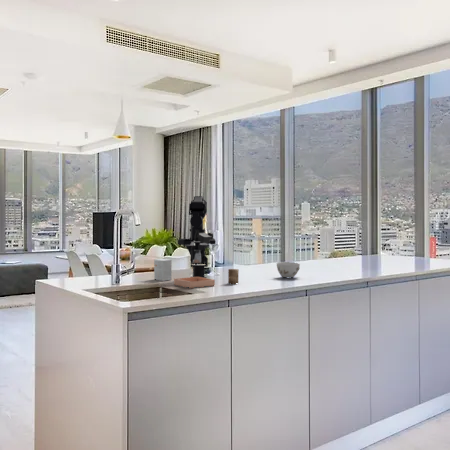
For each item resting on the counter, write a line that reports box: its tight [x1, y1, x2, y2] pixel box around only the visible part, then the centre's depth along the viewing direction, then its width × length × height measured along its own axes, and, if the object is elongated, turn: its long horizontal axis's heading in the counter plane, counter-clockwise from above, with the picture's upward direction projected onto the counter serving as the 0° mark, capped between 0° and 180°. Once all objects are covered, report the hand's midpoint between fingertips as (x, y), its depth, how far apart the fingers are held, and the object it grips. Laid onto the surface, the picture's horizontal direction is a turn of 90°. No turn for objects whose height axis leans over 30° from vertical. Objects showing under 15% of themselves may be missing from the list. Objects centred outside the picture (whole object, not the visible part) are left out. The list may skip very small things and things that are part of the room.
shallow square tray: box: [173, 276, 216, 289], centre depth 249 cm, size 14×14×3 cm
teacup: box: [276, 261, 301, 278], centre depth 282 cm, size 15×12×8 cm
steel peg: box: [193, 250, 201, 263], centre depth 250 cm, size 4×4×6 cm
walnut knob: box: [227, 268, 239, 285], centre depth 257 cm, size 5×5×7 cm
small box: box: [153, 258, 173, 282], centre depth 268 cm, size 8×6×10 cm
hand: (196, 259), depth 250 cm, fingers closed on steel peg, 4 cm apart
